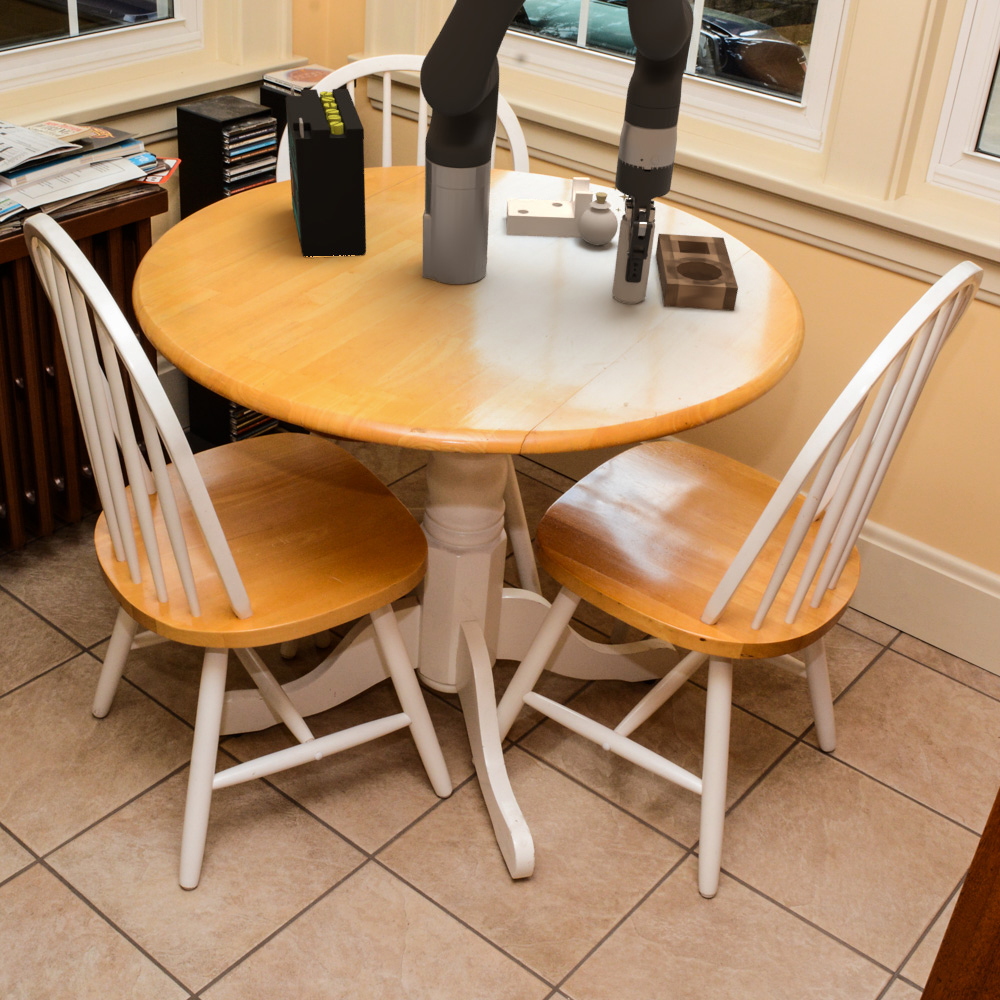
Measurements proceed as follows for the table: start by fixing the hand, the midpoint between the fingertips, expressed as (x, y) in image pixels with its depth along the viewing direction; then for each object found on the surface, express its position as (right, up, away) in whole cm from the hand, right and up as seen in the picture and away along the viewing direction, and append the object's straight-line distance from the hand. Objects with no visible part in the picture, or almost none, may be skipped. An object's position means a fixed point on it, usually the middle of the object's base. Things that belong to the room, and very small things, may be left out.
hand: (631, 273), depth 159 cm
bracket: (-11, +11, +22) cm, 27 cm away
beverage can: (0, -3, +2) cm, 4 cm away
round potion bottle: (-3, +8, +18) cm, 20 cm away
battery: (-46, +10, +17) cm, 50 cm away
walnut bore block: (+10, 0, +8) cm, 13 cm away
